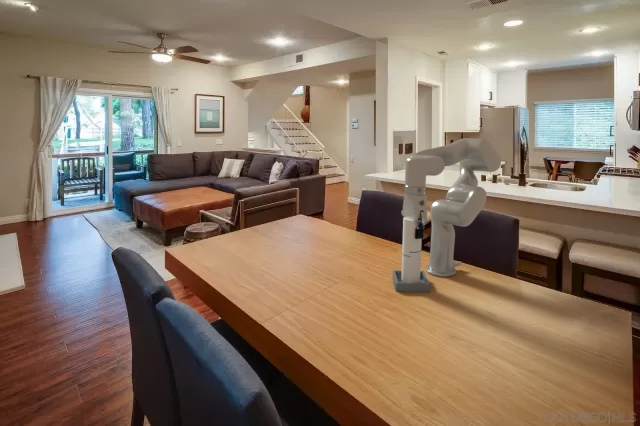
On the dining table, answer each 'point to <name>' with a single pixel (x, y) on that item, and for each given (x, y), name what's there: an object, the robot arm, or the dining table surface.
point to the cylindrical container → (410, 252)
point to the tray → (410, 283)
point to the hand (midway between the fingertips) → (412, 235)
